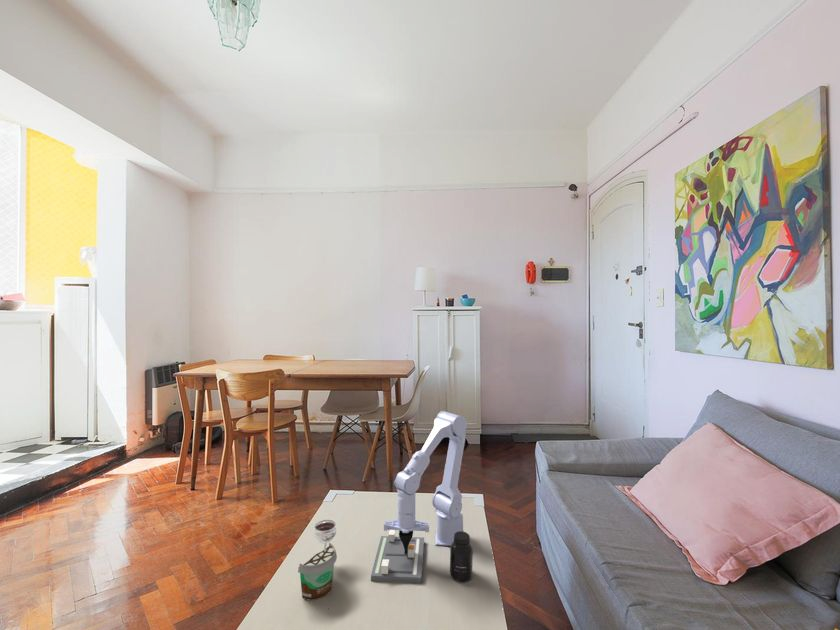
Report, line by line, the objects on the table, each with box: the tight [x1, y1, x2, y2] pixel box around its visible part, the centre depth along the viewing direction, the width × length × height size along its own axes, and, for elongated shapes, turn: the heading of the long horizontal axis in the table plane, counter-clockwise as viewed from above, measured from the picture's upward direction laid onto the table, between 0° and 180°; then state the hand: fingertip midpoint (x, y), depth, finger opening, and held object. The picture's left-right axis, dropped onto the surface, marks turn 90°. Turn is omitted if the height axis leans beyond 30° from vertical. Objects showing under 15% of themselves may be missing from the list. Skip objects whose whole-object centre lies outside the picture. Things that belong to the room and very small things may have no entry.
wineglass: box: [313, 519, 337, 550], centre depth 118 cm, size 7×7×12 cm
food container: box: [297, 542, 338, 601], centre depth 106 cm, size 12×6×10 cm, turn 148°
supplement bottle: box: [449, 531, 474, 583], centre depth 113 cm, size 7×7×12 cm
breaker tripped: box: [408, 544, 415, 558], centre depth 120 cm, size 2×3×2 cm, turn 177°
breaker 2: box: [387, 530, 396, 542], centre depth 128 cm, size 2×3×2 cm, turn 177°
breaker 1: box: [381, 559, 389, 574], centre depth 112 cm, size 2×3×2 cm, turn 177°
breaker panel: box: [370, 535, 425, 584], centre depth 120 cm, size 15×20×2 cm
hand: (406, 552), depth 120 cm, fingers closed
